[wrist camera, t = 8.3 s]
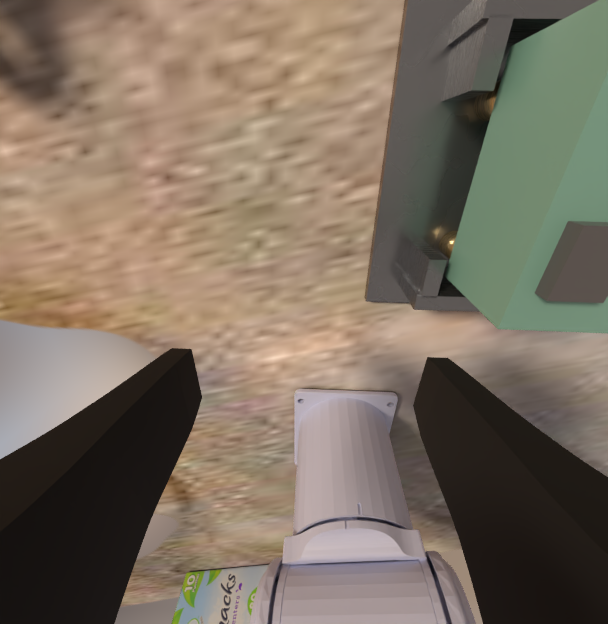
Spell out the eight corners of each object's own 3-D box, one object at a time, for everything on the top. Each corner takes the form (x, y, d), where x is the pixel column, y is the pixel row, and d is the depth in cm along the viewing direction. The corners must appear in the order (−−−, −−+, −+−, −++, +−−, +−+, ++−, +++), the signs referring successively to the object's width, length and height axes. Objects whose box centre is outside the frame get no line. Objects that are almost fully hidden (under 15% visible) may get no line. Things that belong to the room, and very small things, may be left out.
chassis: (538, 302, 18) (582, 333, 15) (364, 296, 19) (374, 326, 16) (687, -12, 11) (823, -70, 8) (406, -14, 12) (439, -70, 9)
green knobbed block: (522, 279, 15) (629, 346, 10) (444, 276, 15) (510, 341, 10) (623, 48, 10) (913, -46, 5) (510, 46, 10) (692, -49, 5)
